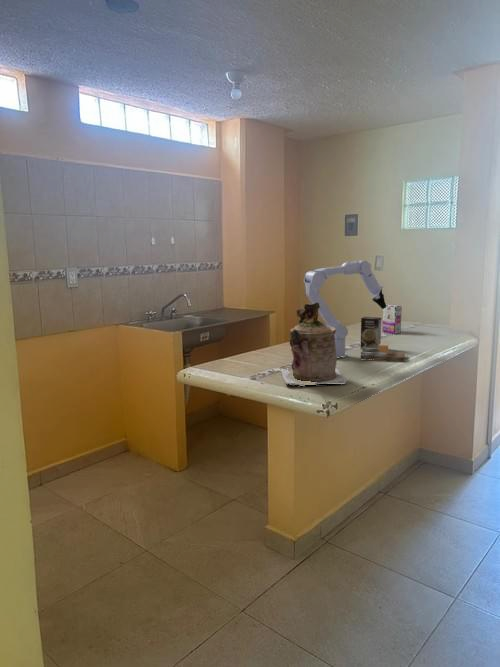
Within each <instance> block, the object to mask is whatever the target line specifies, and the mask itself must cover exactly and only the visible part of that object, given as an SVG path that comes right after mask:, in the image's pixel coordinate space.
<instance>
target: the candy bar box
mask: <svg viewBox="0 0 500 667" xmlns="http://www.w3.org/2000/svg"><path fill="white" fill-rule="evenodd" d="M385 304H386V303H385ZM402 310H403V309H402V305H396V304H386V308H384V309H382V332H383V333H388V334H392V335H398V334H401V333H402Z"/></svg>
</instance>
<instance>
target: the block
mask: <svg viewBox="0 0 500 667" xmlns="http://www.w3.org/2000/svg"><path fill="white" fill-rule="evenodd" d="M388 352H389V343H381V344H379V353H386V355H388Z"/></svg>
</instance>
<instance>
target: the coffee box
mask: <svg viewBox="0 0 500 667" xmlns="http://www.w3.org/2000/svg"><path fill="white" fill-rule="evenodd" d="M381 340H382V317H375V316H374V317H373V316H363V317H361V319H360V349H361V348H379V344H382V342H381Z"/></svg>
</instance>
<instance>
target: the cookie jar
mask: <svg viewBox="0 0 500 667" xmlns="http://www.w3.org/2000/svg"><path fill="white" fill-rule="evenodd" d="M319 307H320V306H319V303H318V302H316V303H314V304H312V303H310V302H309V303H308V302H307V303H304V306H303V307H299V308H297V309H296V316H297V317H299V318H300V319H299V320H298V324H296V325H295V326H294V327H293V328H291V329H289V337H290V339H289V345H290V347H291V348H290V349H291V350H290V351H291V353H292V355H293V356H292V357H293V359H292V362H291V370H293V376H294V378H295V379H297V380H301V381H311V382H317V383H315V384H327V383H346V384H347V382H348V379H347V377H345V376H344V375H343V374H342V373H341V371H340V370H339V368H338V367H337V360H338V359H337V356H336V348H335V337H334V335H335V333H336V329H335V328H334V327H329V326H326V324H324V323H323V322H322V321H319V320H318V319H319V312H318V309H319ZM286 369H287V368H281V369H280V372H281V375H282V377H283V381H284V380H285V381H284V383H285V382H286V383H285V385H286V384H287V385H288V384H289V385H291V386H295V385H304V383H301V382H298V381H294V380H291V379H290V378H291V377H290V375H291V374H292V373H290V372H289V371H288V370H289V369H287V370H286Z"/></svg>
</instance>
